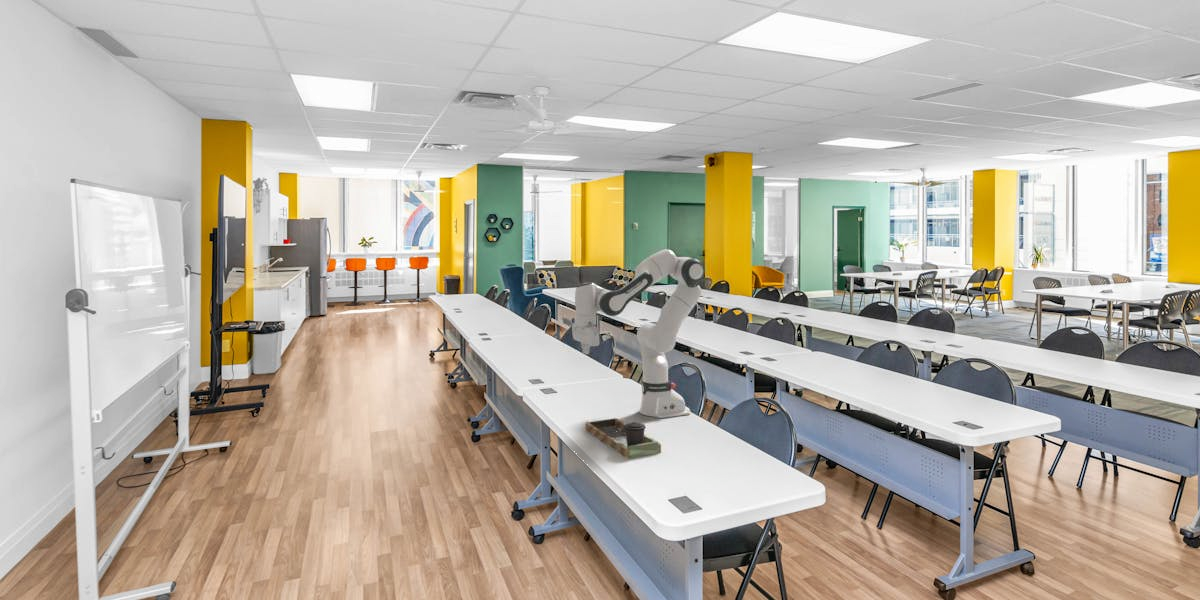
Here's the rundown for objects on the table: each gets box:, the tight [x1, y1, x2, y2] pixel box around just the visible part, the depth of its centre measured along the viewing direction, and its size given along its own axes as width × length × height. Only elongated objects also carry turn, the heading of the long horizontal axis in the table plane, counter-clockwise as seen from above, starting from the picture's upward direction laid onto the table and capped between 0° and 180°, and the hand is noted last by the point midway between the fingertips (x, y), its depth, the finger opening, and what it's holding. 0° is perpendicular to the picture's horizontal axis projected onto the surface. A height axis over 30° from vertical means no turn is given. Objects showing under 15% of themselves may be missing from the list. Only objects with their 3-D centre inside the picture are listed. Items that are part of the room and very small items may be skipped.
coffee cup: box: [624, 421, 646, 447], centre depth 232 cm, size 8×8×10 cm
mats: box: [599, 426, 626, 439], centre depth 253 cm, size 11×10×1 cm
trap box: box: [585, 417, 662, 459], centre depth 244 cm, size 36×14×4 cm, turn 25°
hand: (585, 353), depth 266 cm, fingers closed
